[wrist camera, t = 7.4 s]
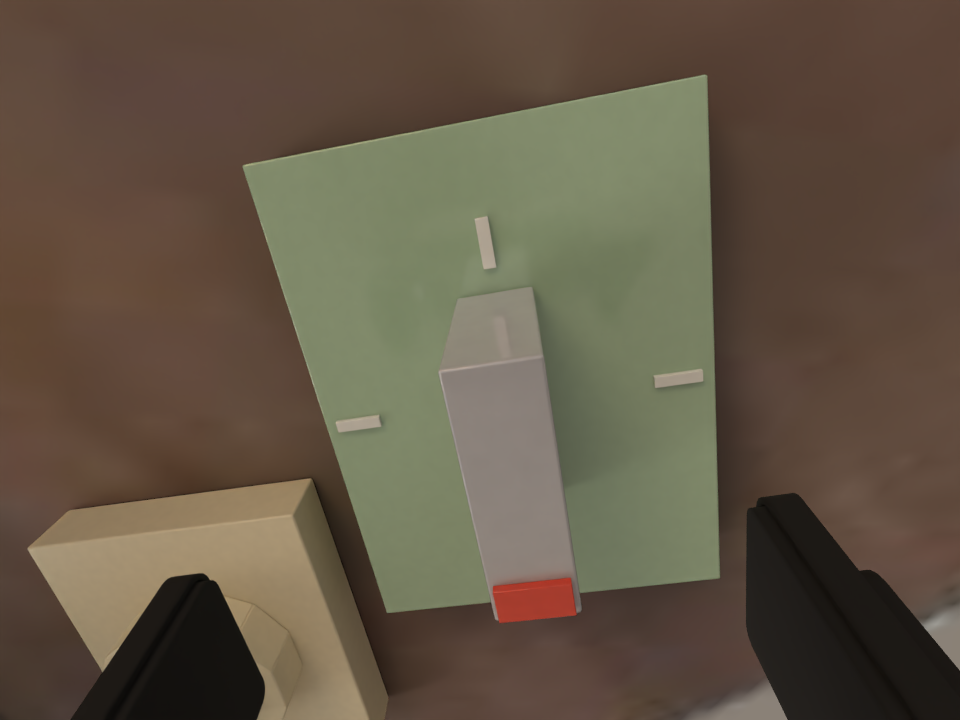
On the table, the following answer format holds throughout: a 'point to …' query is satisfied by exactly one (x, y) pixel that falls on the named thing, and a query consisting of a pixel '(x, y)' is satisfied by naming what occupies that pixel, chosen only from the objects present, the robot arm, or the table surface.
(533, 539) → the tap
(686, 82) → the panel
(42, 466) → the table surface
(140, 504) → the button box
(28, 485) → the table surface
